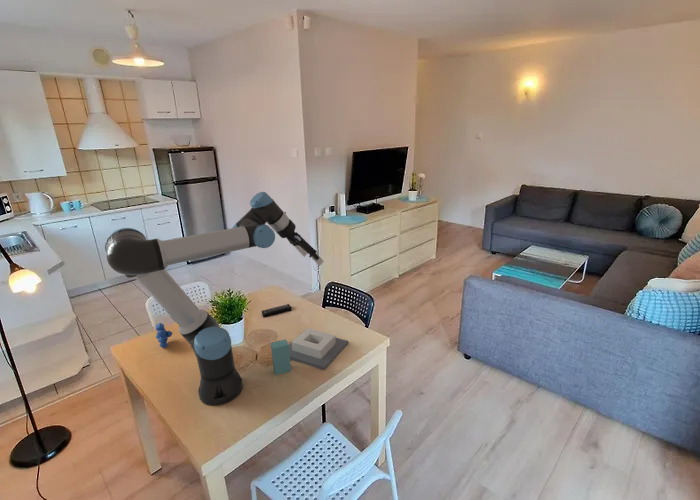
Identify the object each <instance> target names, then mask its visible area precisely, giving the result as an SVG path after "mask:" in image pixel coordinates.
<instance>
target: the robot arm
mask: <svg viewBox="0 0 700 500" xmlns="http://www.w3.org/2000/svg"><path fill="white" fill-rule="evenodd" d="M249 204H250V207H251V208H250V210H248V211H247V212H246V213H245V215H243V216H242V217H241V218H240V219H239V220H238V221H236V223H235V224H234V225H233V227H232V228H226V229H220V230H216V231H211V232H203V233H198V234H193V235H188V236H183V237H176V238H172V239H165V240H161V239H160V238H153V239H147V237H146V236H145V235H144V234H143V232H141V231H139V230H138V229H136V228H132V227H131V228H130V227H122V228H119V229H116V230H114V231H112V233H110V234H109V235H108V236H107V238H106V240H105V244H104V250H105V252H106V259H107V260H106V261H107V264H108V265H109V267H110V268H111V269H112V270H114V271H115V272H116V273H118V274H120V275H124V276H125V277H127V278H128V279H133V280H136V281H137V282H138V283H139V284H140V285H141V286H142V287H143V288H144V289H145V290H146V291H147V292H148V293H149V295H150V296H151V297H152V298H153V299H154V300H155V301H156V303H158V305H160V306H161V308H163V310H164V311H165V312H166V313H167V314H168V315H169V316H170V318H172V319H173V321H175V323H176V324H177V325H178V326H179V327H178V332H179V334H180V335H181V336H182V337H183V338H184V339H185V340H186V341H187V342H188V344H189V345H190V346H191V348H192V352H193V353H194V355H195V357H196V361H197V366H198V369H199V374H200V381H199V387H198V397H199V400H200V401H201V403H203V404H205V405H207V406H220V405H223V404H227V403H229V402H231V401H233V400H235V399H236V398H237V397H238V396H239V395H240V394H241V392H242V391H243V388H244V387H243V386H244V384H243V379H242V376H241V375H240V374H239V371H238V370H237V369H236V366H235V365H236V364H235V361H234V360H235V359H234V354H233V347H232V339H231V336H230V333H229V332H228V330H227V329H225V328H223V327H220V325H219V322H217V321H218V320H216V319H215V318H214V317H213V316H211V315H210V313H209V312H208V311H207V310H206V309H199V307H198V306H197V305H196V303H194V301H192V299H191V298H190V297H189V296H188V295H187V293H186V292H185V291H184V290H183V289H182V287H181V286H180V285H179V284H178V283H177V281H176V280H175V279H174V278H173V277H172V276H171V275H170V273H169V272H168V271H167V270H166V269H167V267H168V266H171V265H175V264H180V263H181V264H182V263H185V262H190V261H194V260H198V259H200V260H201V259H203V258H208V257H213V256H217V255H222V254H226V253H231V252H235V251H236V252H237V251H240V250H245V249H251V248H254V247H255V248H256V247H257V248H260V249H268V248H270V247H271V246H273V244H274V242H275V241H276V234H277V235H278V236H279V237H280V238H281V239H287V240H288V242H289V244H290V245H292V246H293V247H294V248H295V249H296V250H297V251H298V252H299V253H300V254H301V255H302V257H306V256H307V255H309V256H308V257H309V258H311V259H312V260H313V261H314V262H315V263H316V264H317V265H318V266H319V267H321V265H322V264H323V263H324V260H323V258H322V257H321V256H320V255H319V254H318V253H317V252H318V251H317V250H316V249H315V248H314V247H312V245H310V244H309V243H308V242H307V240H306V239H304V238H303V236H302V235H301V234H299V232H298V231H295V230H296V224H295V223H294V221H292V219H290V217H288V215H287V211H283V210H282V208H280V206H279V205H278V204H277V202H276V201H275V200H274V199H273V198H272V197H271V196H270V195H269V194H268V193H267V192H265V191H260V192H258V193H256V194H255V195H253V196H252V198H251V199H250V201H249ZM267 224H268V225H267ZM275 232H276V233H275Z"/></svg>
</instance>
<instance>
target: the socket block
mask: <svg viewBox="0 0 700 500" xmlns="http://www.w3.org/2000/svg"><path fill="white" fill-rule="evenodd" d="M348 345H349V340H348V339H342V338H339V337H336V335H335V334H331V333H327V332H324V331H320V330H316V329H312V328H309V327H307V328H306V329H305V330H304V331H302V333H300V334H299V335H298V336H297V337H296V338H294V339H293V340H292V341H291V342H290V343H288V346H289V355H290V361H295V362H298V363H300V364H305V365H307V366H311V367H314V368H317V369H320V370H322V371H325V370H326V369H327V368H328V367H329V366H330V365H331V364H332V363H333V361H334V360H335V359H336V358H337V357H338V356H339V355H340V354H341V352H342V351H343V350H344V349H345V348H346V347H347V346H348Z"/></svg>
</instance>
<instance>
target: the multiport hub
mask: <svg viewBox="0 0 700 500" xmlns="http://www.w3.org/2000/svg"><path fill="white" fill-rule="evenodd" d="M287 312H292V306H291V305H290V304H289V303H288V304H284V305H278V306H275V307H272V308H268V309H263V310H261V315H262V317H263V318H264V319H265V318H268V317H272V316H276V315H281V314H284V313H287Z"/></svg>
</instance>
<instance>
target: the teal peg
mask: <svg viewBox="0 0 700 500" xmlns="http://www.w3.org/2000/svg"><path fill="white" fill-rule="evenodd" d="M288 345H289V343H288V341H287V339H286V338H285V339H281V340H277V341H274V342H270V349H271V358H272V359H271V360H272V366H273V371H274V374H275V376H278V375H281V374H285V373H290V372H292V366H291V359H290V355H289V346H288Z"/></svg>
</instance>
